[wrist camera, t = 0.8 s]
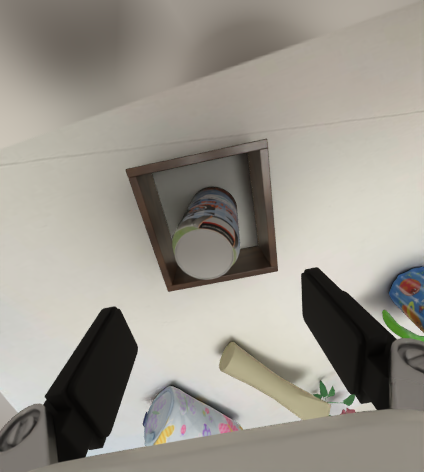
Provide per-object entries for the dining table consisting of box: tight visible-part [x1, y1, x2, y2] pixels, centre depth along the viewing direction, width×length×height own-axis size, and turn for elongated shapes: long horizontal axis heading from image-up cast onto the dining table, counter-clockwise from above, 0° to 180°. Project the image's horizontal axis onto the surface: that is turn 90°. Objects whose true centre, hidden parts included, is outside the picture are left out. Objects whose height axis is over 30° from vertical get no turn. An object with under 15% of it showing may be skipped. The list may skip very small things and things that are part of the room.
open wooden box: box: [126, 139, 278, 292], centre depth 24 cm, size 15×14×6 cm
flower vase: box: [219, 342, 355, 420], centre depth 37 cm, size 12×12×35 cm
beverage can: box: [172, 187, 240, 280], centre depth 21 cm, size 6×7×12 cm
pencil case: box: [143, 386, 243, 446], centre depth 39 cm, size 21×9×10 cm, turn 47°
